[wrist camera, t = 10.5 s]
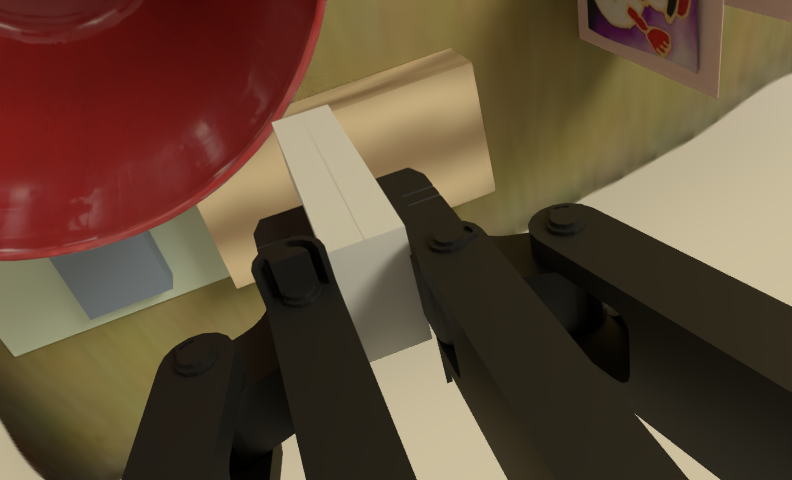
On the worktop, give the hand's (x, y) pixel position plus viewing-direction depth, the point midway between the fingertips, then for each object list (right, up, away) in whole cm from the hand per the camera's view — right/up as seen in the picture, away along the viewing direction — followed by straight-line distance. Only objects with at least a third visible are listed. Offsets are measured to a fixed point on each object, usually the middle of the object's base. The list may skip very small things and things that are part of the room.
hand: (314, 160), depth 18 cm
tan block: (-2, +4, +31) cm, 32 cm away
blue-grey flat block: (-17, -3, +27) cm, 33 cm away
